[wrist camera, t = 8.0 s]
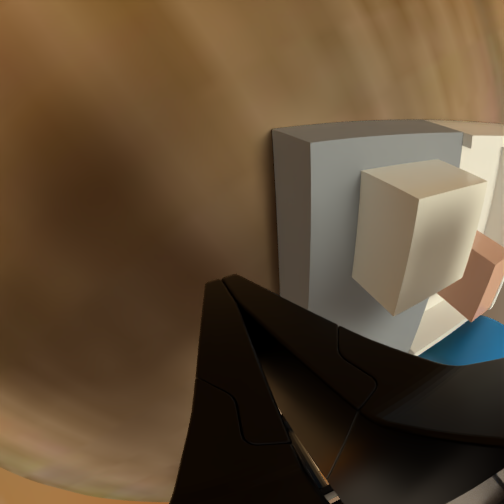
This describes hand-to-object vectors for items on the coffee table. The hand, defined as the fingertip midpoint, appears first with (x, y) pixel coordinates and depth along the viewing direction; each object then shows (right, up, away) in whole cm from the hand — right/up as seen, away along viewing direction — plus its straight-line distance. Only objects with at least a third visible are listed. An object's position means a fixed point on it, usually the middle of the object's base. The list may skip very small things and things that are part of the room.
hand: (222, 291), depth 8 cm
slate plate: (+6, 0, +7) cm, 9 cm away
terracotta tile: (+13, 0, +7) cm, 15 cm away
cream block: (+6, +2, +3) cm, 7 cm away
